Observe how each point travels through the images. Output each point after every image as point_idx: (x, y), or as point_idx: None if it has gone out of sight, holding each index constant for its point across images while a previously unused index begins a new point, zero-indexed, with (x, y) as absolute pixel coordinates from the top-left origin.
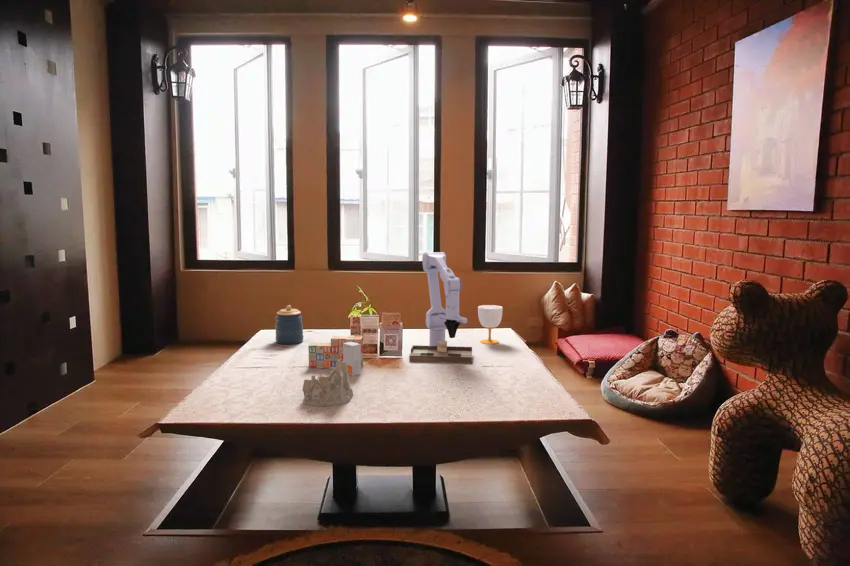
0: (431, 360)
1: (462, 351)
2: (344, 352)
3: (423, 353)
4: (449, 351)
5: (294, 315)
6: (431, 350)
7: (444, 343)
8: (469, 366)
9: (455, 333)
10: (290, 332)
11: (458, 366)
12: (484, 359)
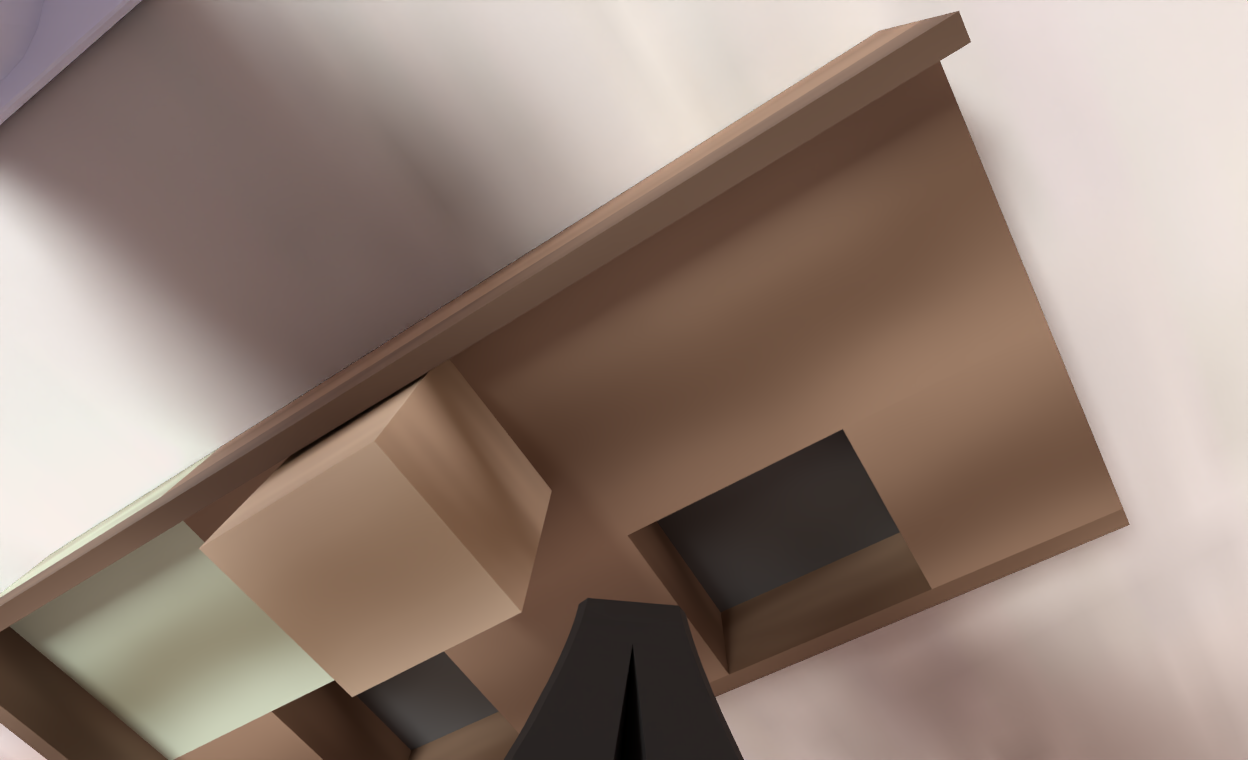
0: None
1: (778, 265)
2: None
3: (301, 687)
4: (562, 419)
5: None
6: None
7: (484, 624)
8: (1100, 611)
9: (715, 716)
10: None
11: (956, 680)
12: (1220, 114)
